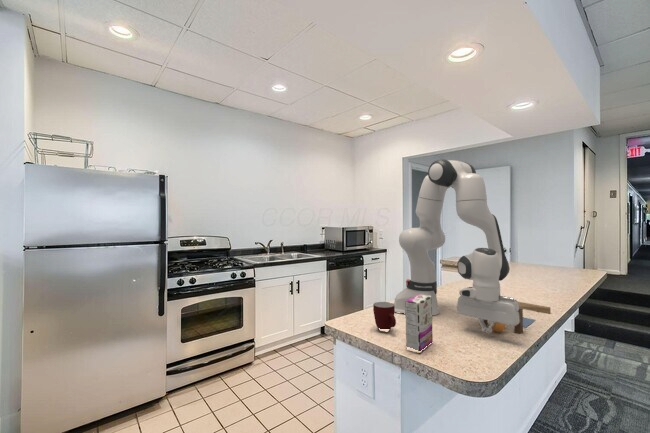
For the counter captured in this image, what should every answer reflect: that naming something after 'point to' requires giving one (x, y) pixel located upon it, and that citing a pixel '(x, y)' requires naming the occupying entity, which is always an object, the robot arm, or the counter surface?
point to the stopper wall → (535, 307)
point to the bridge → (517, 328)
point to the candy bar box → (418, 322)
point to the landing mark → (527, 322)
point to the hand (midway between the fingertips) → (486, 331)
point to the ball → (498, 327)
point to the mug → (384, 315)
